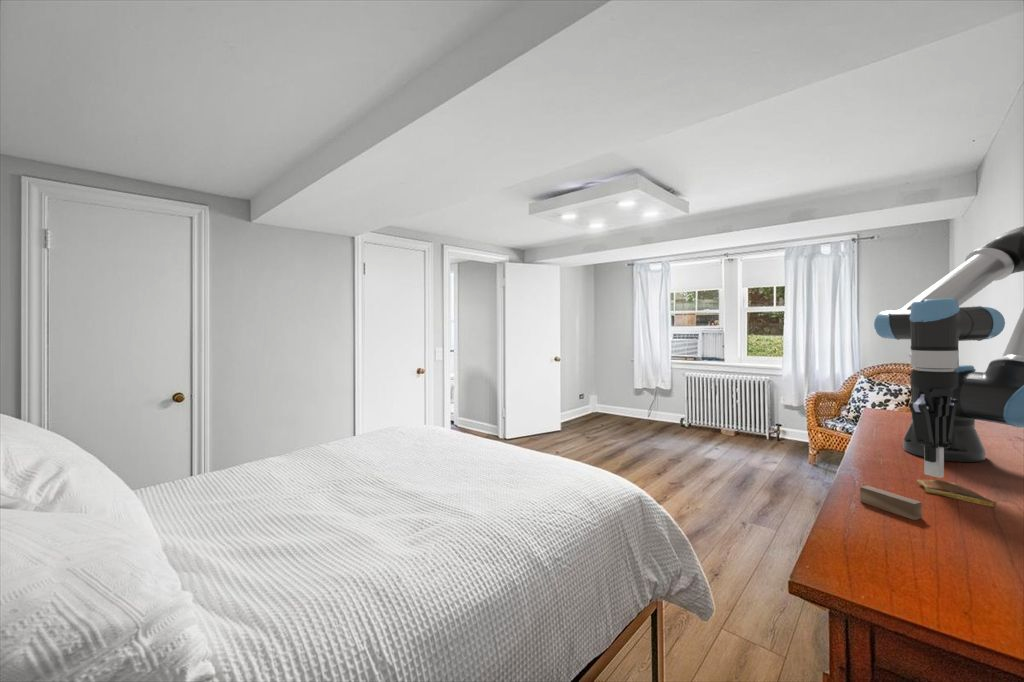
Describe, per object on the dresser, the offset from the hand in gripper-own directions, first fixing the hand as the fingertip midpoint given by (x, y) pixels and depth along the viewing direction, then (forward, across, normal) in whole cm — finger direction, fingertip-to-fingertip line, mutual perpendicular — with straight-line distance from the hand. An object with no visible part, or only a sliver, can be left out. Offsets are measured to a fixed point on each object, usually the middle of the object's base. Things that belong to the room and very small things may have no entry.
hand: (933, 475), depth 94 cm
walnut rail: (+2, +24, +5) cm, 24 cm away
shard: (+2, +4, +6) cm, 7 cm away
